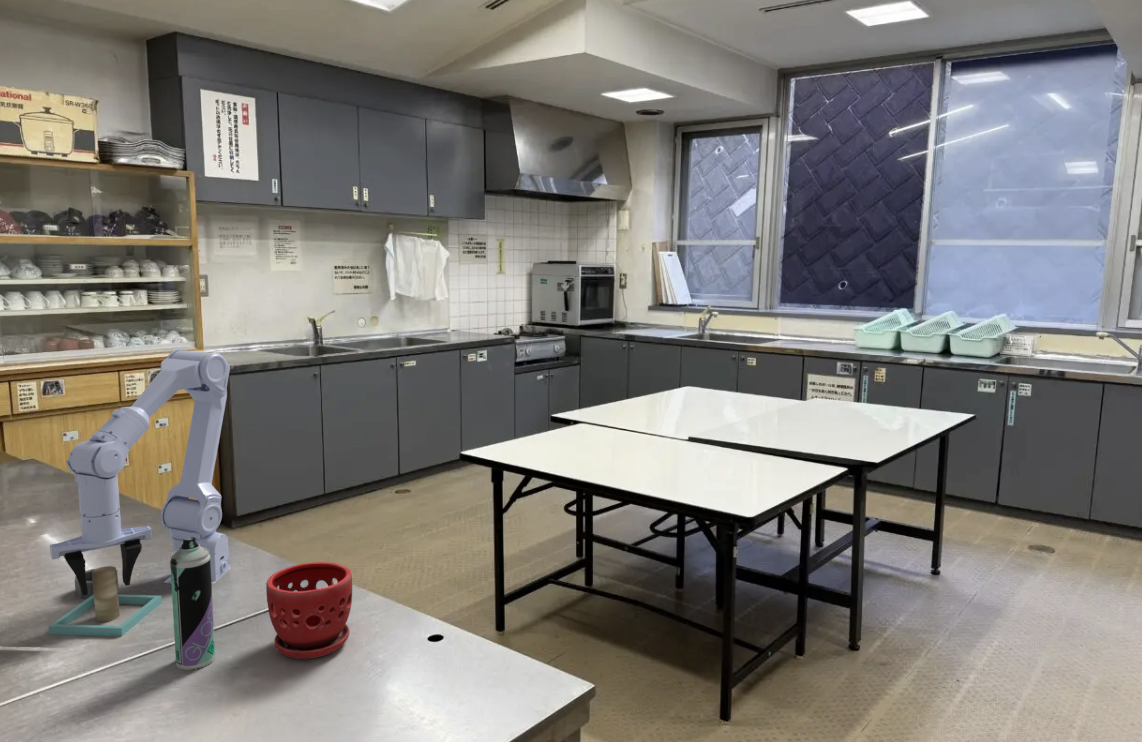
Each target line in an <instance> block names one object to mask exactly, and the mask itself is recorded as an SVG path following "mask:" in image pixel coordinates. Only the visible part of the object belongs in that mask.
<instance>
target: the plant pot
mask: <svg viewBox="0 0 1142 742" xmlns="http://www.w3.org/2000/svg"><path fill="white" fill-rule="evenodd" d="M334 579H336V581H337V582H336V583H334V581H333V580H334ZM304 581H307V585H306V586H301V583H302V582H304ZM320 581H323V582H324V583H326V585H327V586H325V587H321V588H317V584H318V582H320ZM265 584H266V593H265V594H266V603H267V608H268V609H267V610H268V614H269V618H270V621H271V625H272V626H273V629H274V632H275V633H276V635H275V636H274V642H273V643H274V647H275V648H276V650H277V651H278V652H279V653H281V655H284V656H286V657H289V658H291V659H292V658H294V659H303V660H305V659H314V658H320V657H323V656H324V657H325V656H326V655H330V654H329V653H331V652H332V653H333V652H335V651H336V650H338V649H340V648H341V647H342V646H343V645H344V644H345V643H346V642H347V640H348V639H349V636H350V627H349V625H348V624H347V621H348V620H349V616H350V613H351V608H352V601H353V577H352V571H351V570H350V568H349V567H347V566H345V565H344V564H341V563H336V562H330V561H329V562H328V561H316V562H306V563H301V564H300V563H299V564H296V565H291V566H287V567H286V568H283V569H280V570H278V571H276V572H275V573H273V574H271V575H270V576H269V577H268V579H267V580H266V583H265ZM290 584H292V585H291V586H290V587H289V585H290ZM332 653H331V654H332Z"/></svg>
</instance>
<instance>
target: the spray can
mask: <svg viewBox="0 0 1142 742" xmlns="http://www.w3.org/2000/svg"><path fill="white" fill-rule="evenodd" d="M169 560H170V561H169V564H170V577H171V581H170V582H171V583H170V584H171V596H172V597H171V599H172V615H173V616H172V617H173V618H172V619H173V631H174V632H173V635H174V650H175V652H174V654H175V664H176V667H177V668H178V669H179V670H182V669H184V670H183V671H192V670H191V669H195V670H198V669H197V668H200V669H202V668H201V667H203V668H205V667H207V666H209V665H211V664H212V663H213V662H214V661H215V659H216V649H215V647H216V646H215V645H216V643H215V627H214V625H215V624H214V606H213V604H214V603H213V586H212V585H213V584H212V583H211V563H210V555H209V550H208V549H207V548H203V547H200V544H197V542H196V539H195V537H191V538H188V539H183V544H182V545H181V546H180V547H179V550H177V551H176V552H174V553H173V552H172V554H171V555H170V559H169ZM213 660H214V661H213ZM212 661H213V662H212ZM211 662H212V663H211ZM210 663H211V664H210ZM208 664H209V665H208ZM206 665H207V666H206ZM204 666H205V667H204Z"/></svg>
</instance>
